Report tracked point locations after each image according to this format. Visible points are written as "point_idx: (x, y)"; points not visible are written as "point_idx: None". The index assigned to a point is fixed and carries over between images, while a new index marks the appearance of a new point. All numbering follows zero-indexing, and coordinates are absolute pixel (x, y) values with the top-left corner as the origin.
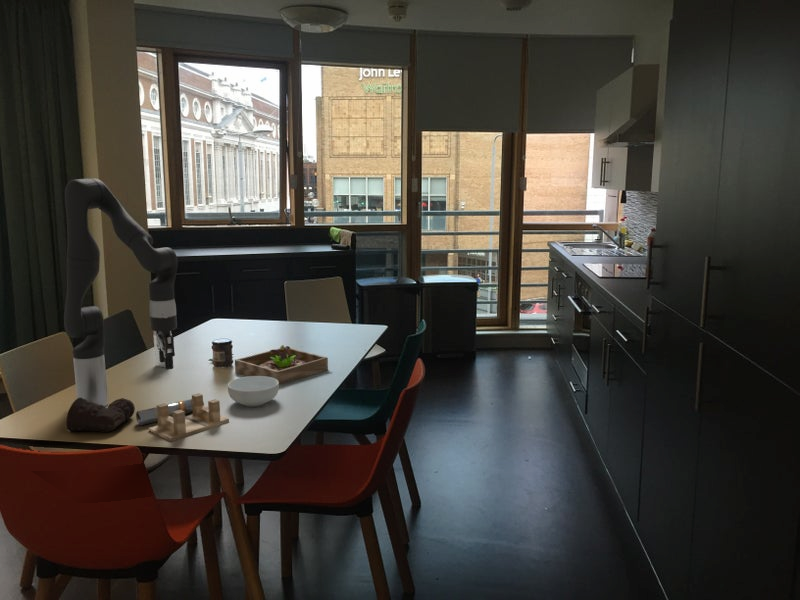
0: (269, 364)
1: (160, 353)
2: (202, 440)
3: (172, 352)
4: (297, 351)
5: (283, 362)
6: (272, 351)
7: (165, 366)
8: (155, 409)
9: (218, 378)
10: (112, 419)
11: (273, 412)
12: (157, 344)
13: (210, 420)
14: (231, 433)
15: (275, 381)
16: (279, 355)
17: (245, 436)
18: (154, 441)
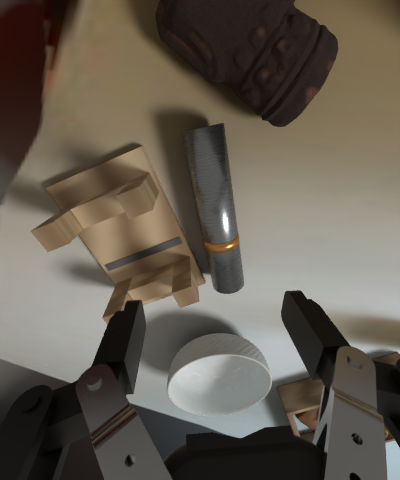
0: None
1: (312, 335)
2: (40, 247)
3: (42, 454)
4: None
5: None
6: None
7: (127, 309)
8: (203, 181)
9: (389, 325)
10: (173, 19)
11: (149, 363)
12: (343, 411)
13: (126, 281)
14: (66, 297)
15: (220, 410)
16: None
17: (43, 314)
18: (62, 148)
